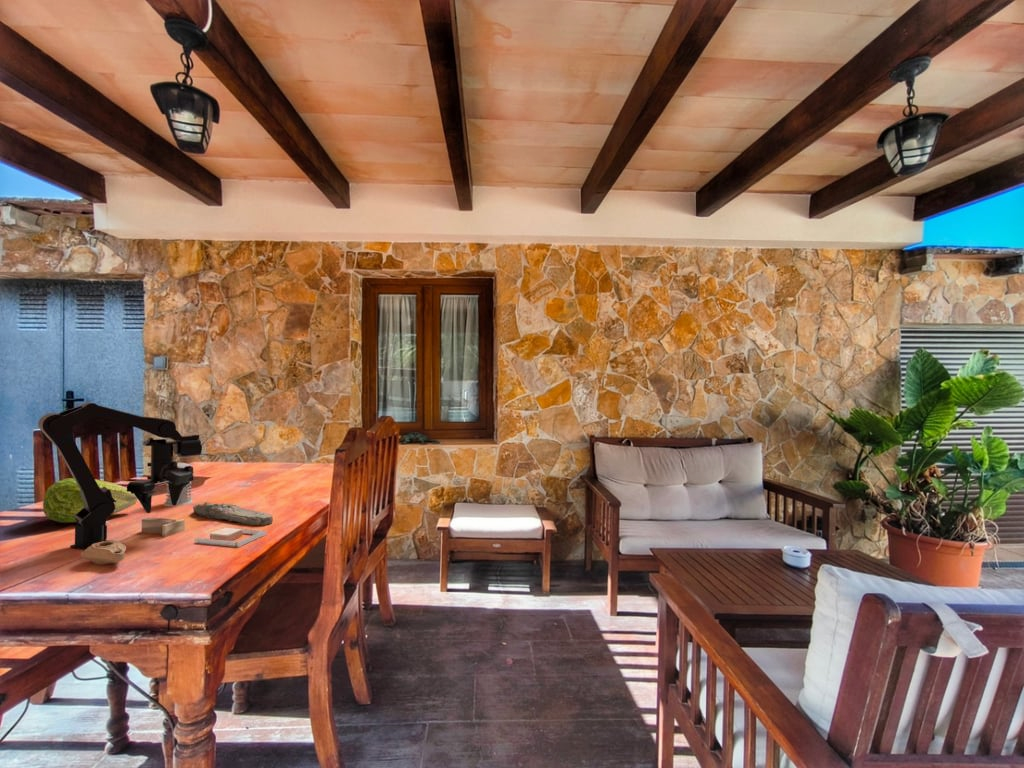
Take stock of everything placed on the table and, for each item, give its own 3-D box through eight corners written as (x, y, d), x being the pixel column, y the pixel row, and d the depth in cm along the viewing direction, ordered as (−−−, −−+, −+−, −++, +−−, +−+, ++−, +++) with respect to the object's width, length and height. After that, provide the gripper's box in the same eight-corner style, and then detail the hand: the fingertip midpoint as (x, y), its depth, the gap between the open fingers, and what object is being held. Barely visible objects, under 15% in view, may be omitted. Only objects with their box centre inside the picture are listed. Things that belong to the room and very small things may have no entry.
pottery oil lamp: (100, 572, 123) (85, 547, 123) (89, 576, 131) (74, 553, 130) (139, 550, 130) (125, 527, 130) (126, 555, 137) (113, 533, 137)
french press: (195, 499, 197) (196, 435, 197) (191, 506, 187) (192, 439, 187) (165, 501, 193) (165, 436, 193) (160, 508, 183) (161, 440, 182)
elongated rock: (255, 533, 162) (280, 526, 171) (257, 517, 162) (282, 511, 171) (182, 514, 175) (209, 508, 184) (184, 498, 175) (210, 494, 184)
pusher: (165, 537, 152) (165, 524, 152) (134, 534, 154) (134, 521, 154) (184, 530, 158) (184, 517, 158) (155, 527, 161) (155, 515, 161)
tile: (227, 543, 148) (227, 535, 148) (209, 541, 149) (210, 533, 149) (242, 537, 154) (242, 529, 154) (225, 535, 155) (225, 527, 155)
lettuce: (139, 521, 170) (144, 477, 172) (41, 525, 153) (49, 477, 155) (130, 518, 182) (136, 478, 184) (38, 522, 165) (46, 477, 167)
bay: (238, 547, 144) (238, 543, 144) (194, 542, 147) (194, 538, 147) (266, 534, 156) (266, 530, 156) (225, 530, 159) (225, 527, 159)
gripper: (157, 465, 145) (157, 519, 146) (208, 455, 164) (207, 503, 164) (125, 463, 147) (125, 516, 148) (178, 454, 166) (178, 501, 166)
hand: (161, 509), depth 156 cm, fingers open, 9 cm apart
